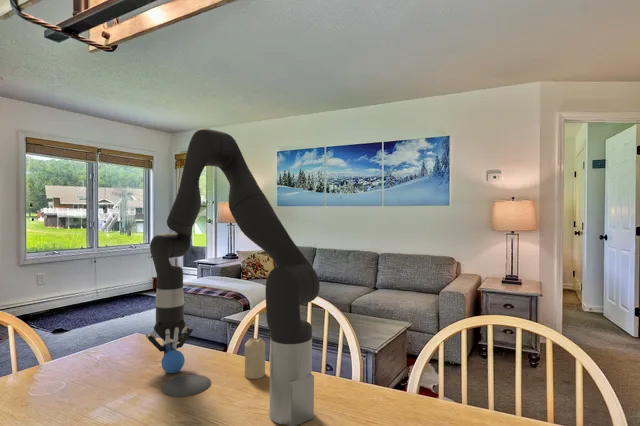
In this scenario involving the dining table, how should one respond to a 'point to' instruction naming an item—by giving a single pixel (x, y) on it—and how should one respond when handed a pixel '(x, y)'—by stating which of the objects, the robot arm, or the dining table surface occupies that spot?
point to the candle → (254, 358)
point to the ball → (173, 361)
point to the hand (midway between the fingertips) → (169, 363)
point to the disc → (186, 385)
